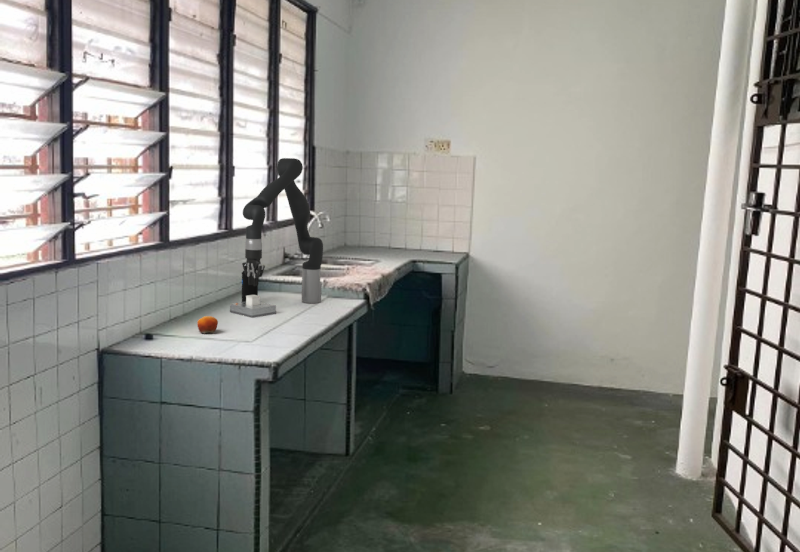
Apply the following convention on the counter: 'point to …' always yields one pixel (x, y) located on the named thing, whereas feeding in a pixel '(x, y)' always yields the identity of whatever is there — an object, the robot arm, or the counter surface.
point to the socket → (252, 309)
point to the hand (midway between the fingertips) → (253, 285)
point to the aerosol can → (248, 287)
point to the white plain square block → (252, 300)
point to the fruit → (207, 324)
